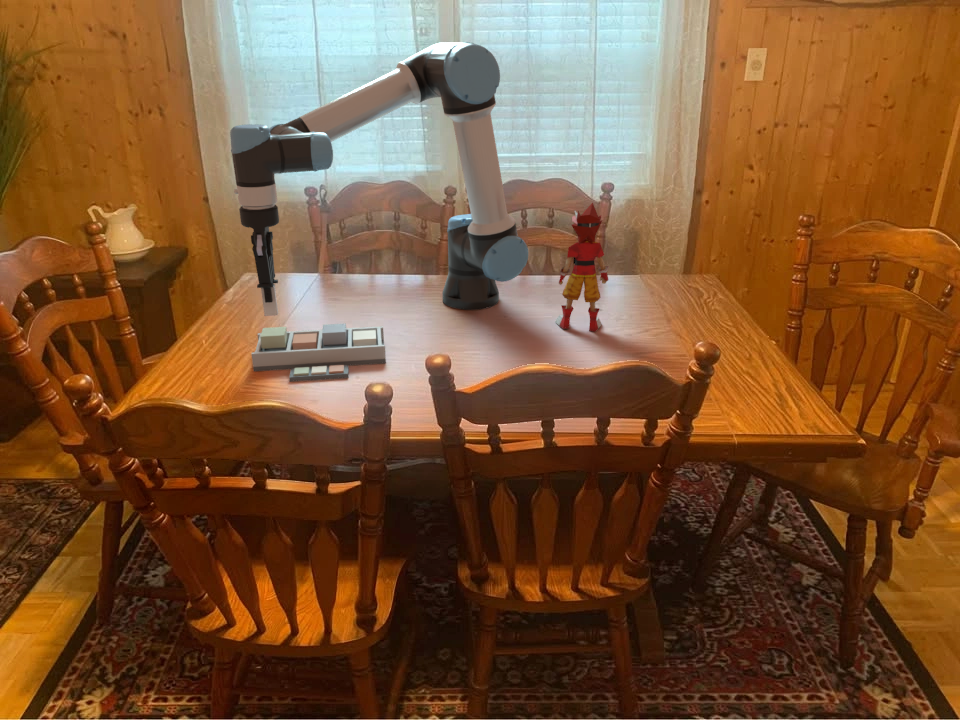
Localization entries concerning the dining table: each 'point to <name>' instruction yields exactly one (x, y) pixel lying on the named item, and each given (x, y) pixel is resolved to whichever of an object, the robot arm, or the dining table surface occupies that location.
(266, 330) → the key sage
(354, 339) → the key cream
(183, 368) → the dining table surface
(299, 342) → the key terracotta
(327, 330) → the key slate
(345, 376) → the plaque
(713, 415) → the dining table surface
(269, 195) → the robot arm
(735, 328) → the dining table surface
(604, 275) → the toy
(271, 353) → the grey base
